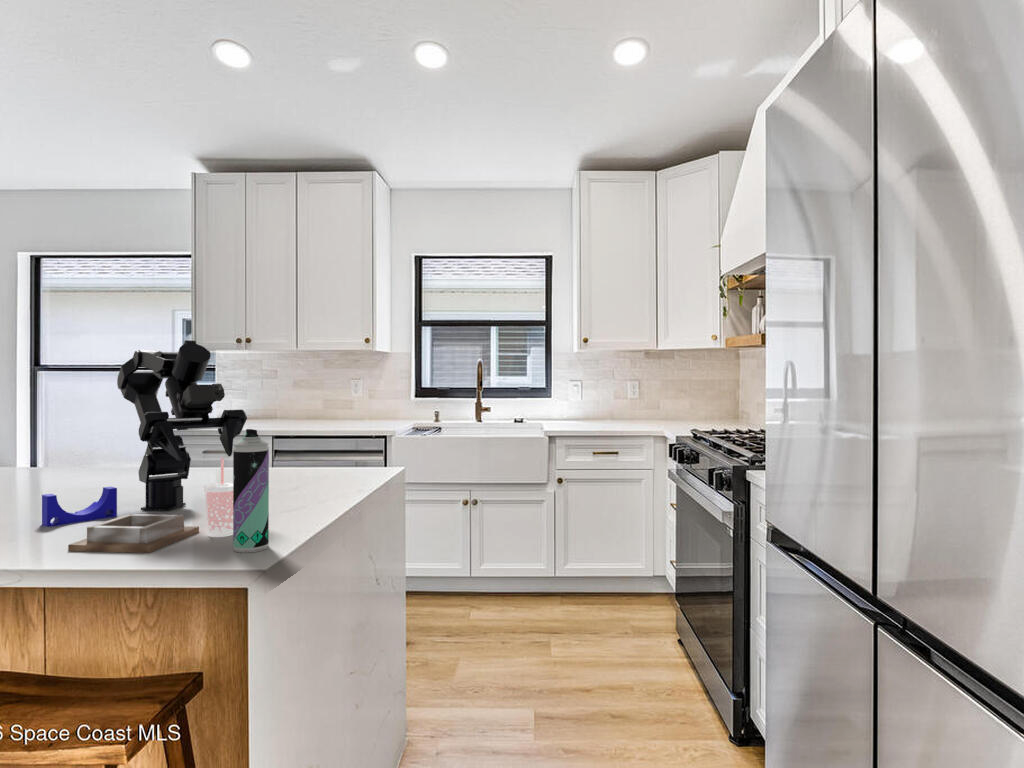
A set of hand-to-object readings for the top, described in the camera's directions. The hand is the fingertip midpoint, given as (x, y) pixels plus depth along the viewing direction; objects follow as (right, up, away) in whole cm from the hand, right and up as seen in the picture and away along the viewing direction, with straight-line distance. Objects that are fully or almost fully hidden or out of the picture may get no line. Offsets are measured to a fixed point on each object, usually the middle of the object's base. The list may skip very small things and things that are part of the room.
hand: (206, 457), depth 119 cm
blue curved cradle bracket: (-28, -14, +6) cm, 32 cm away
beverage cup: (+6, -14, -6) cm, 16 cm away
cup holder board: (-7, -13, -11) cm, 18 cm away
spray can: (+15, -14, -15) cm, 25 cm away
